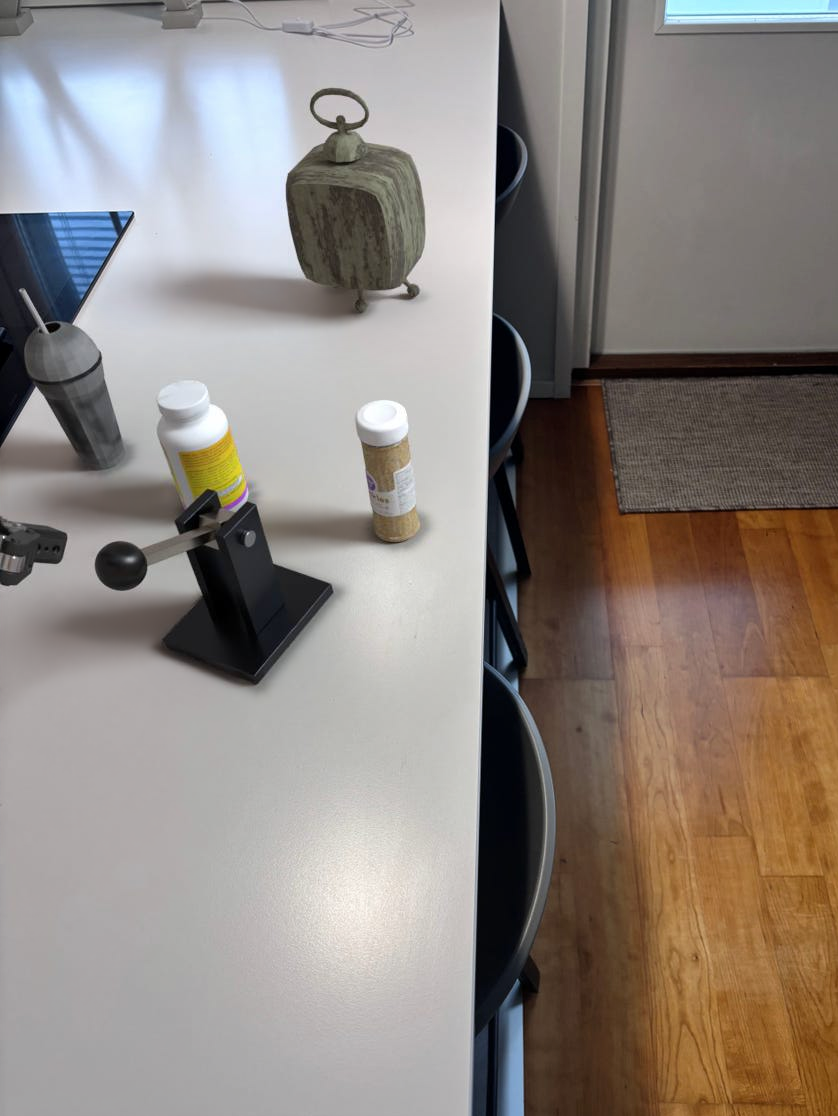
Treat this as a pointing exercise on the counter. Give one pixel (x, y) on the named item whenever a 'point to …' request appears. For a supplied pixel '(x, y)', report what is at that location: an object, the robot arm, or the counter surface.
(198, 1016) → the counter surface
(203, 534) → the lever
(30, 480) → the counter surface
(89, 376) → the beverage cup
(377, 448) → the sprinkles bottle
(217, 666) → the bracket
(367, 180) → the tabletop clock
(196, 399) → the supplement bottle
